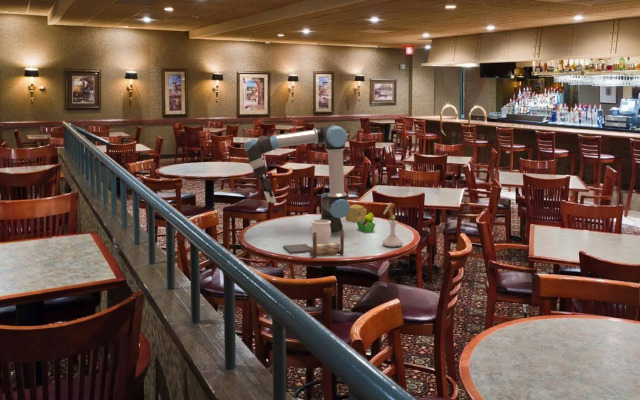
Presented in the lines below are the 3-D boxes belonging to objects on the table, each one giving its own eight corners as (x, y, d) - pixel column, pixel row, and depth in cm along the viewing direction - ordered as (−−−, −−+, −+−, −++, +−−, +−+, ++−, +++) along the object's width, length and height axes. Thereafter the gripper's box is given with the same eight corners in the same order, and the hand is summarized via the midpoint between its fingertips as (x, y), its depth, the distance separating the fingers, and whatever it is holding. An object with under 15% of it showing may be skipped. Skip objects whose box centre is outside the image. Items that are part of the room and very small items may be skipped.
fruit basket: (355, 229, 398) (356, 211, 396) (367, 228, 402) (368, 210, 400) (365, 233, 388) (365, 215, 386) (377, 232, 392) (378, 213, 390)
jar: (333, 246, 354) (333, 220, 352) (327, 251, 345) (327, 223, 342) (315, 245, 358) (315, 218, 355) (308, 249, 348) (308, 222, 345)
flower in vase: (389, 242, 366) (390, 199, 361) (406, 245, 358) (407, 201, 354) (376, 246, 356) (377, 202, 351) (393, 249, 348) (395, 204, 344)
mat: (305, 246, 355) (305, 243, 355) (313, 252, 342) (313, 249, 342) (283, 247, 351) (283, 245, 351) (290, 253, 338) (290, 251, 338)
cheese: (367, 221, 425) (367, 206, 423) (356, 223, 417) (356, 208, 415) (355, 218, 432) (355, 204, 430) (344, 221, 424) (344, 206, 422)
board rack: (339, 252, 342) (339, 228, 340) (344, 255, 336) (344, 231, 334) (309, 254, 337) (309, 230, 335) (313, 257, 330) (313, 233, 328)
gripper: (249, 169, 374) (262, 203, 377) (255, 168, 350) (269, 205, 352) (261, 165, 376) (274, 199, 378) (268, 163, 352) (281, 200, 354)
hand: (271, 202), depth 365 cm, fingers open, 13 cm apart
